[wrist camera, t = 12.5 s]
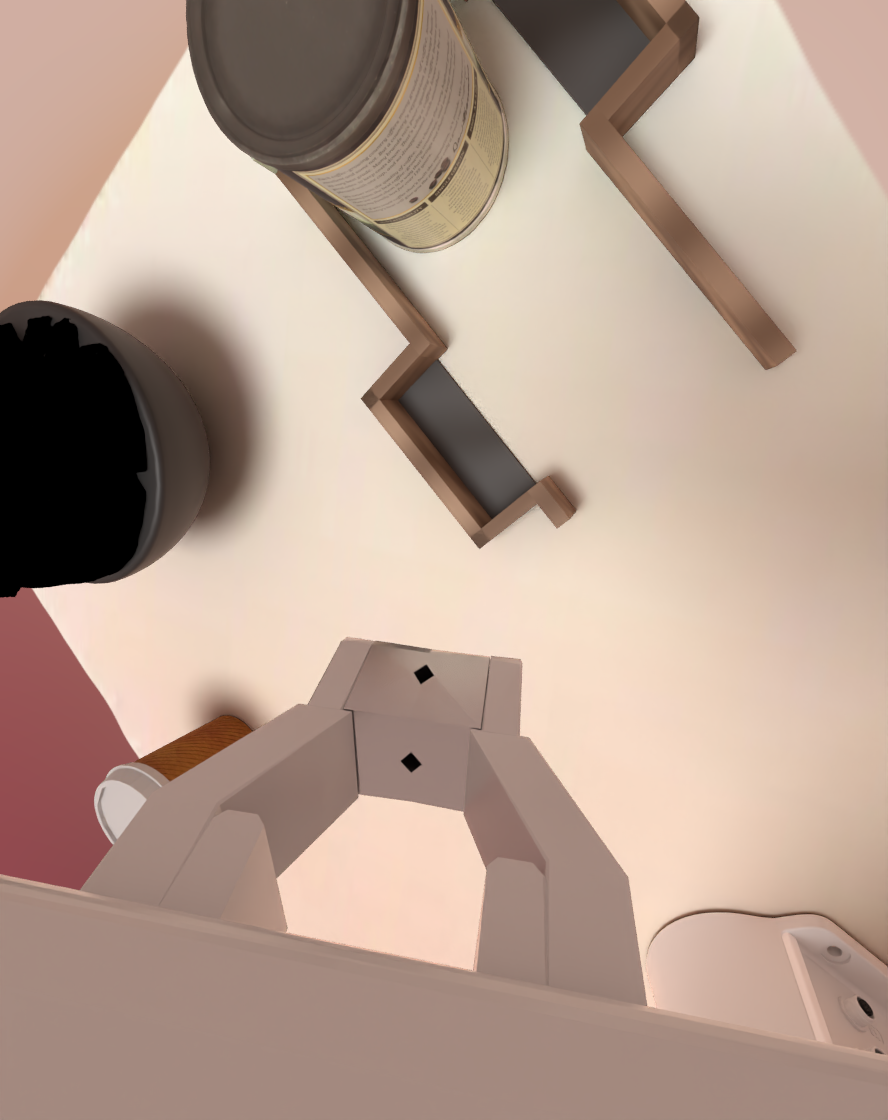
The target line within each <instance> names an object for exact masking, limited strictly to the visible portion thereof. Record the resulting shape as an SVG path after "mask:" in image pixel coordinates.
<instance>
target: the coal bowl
mask: <svg viewBox="0 0 888 1120" xmlns="http://www.w3.org/2000/svg"><path fill="white" fill-rule="evenodd" d="M209 472H210V455H209V446H208V440H207V435H206V431H205V428H204V425H203V421H202V419H201V416H200V414H199V412H198V410H197V407H196V405H195V403H194V402H193V400H192V398H191V396H190V395H189V393H188V391H187V390H186V388H185V387H184V385H183V384H182V382H181V381H180V380H179V379H178V377H177V376H176V375H175V374H174V372H173V371H172V370H171V369H170V368H169V367H168V366H167V365H166V364H165V363H164V361H162V360H161V359H160V358H159V357H158V356H157V355H156V354H155V353H154V352H153V351H151V350H150V349H149V348H148V347H147V346H145V345H144V344H143V343H141V342H140V341H138V340H137V339H136V338H134V337H133V336H131V335H130V334H129V333H127V332H125V331H123V330H122V329H120V328H118V327H116V326H115V325H113V324H111V323H109V322H107V321H105V320H103V319H101V318H99V317H97V316H94V315H92V314H89V313H87V312H84V311H82V310H79V309H76V308H73V307H69V306H66V305H62V304H58V303H54V302H50V301H26V302H22V303H18V304H15V305H12V306H10V307H8V308H7V309H5V310H3V311H2V312H1V313H0V597H15V596H16V595H17V592H18V591H19V590H20V588H21V587H25V588H43V587H53V586H59V585H66V584H79V583H94V584H96V583H110V582H115V581H118V580H120V579H123V578H126V577H128V576H130V575H133V574H135V573H137V572H138V571H140V570H142V569H144V568H146V567H148V566H149V565H151V564H152V563H154V562H155V561H157V560H158V559H159V558H161V557H162V556H163V555H165V554H166V553H167V552H168V551H169V550H170V549H172V548H173V547H174V546H175V545H176V544H177V543H178V541H179V540H180V539H181V538H182V537H183V536H184V535H185V533H186V532H187V531H188V529H189V528H190V526H191V525H192V523H193V522H194V520H195V518H196V517H197V515H198V512H199V510H200V508H201V506H202V503H203V501H204V498H205V495H206V490H207V486H208V480H209Z"/></svg>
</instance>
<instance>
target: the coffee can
mask: <svg viewBox="0 0 888 1120" xmlns="http://www.w3.org/2000/svg"><path fill="white" fill-rule="evenodd" d="M186 21H187V37H188V45H189V51H190V57H191V62H192V67H193V71H194V74H195V78H196V81H197V84H198V87H199V90H200V92H201V95H202V97H203V99H204V102H205V104H206V106H207V108H208V110H209V113H210V114H211V116H212V118H213V119H214V121H215V122H216V124H217V125H218V127H219V128H220V129H221V131H222V132H223V133H224V134H225V135H226V136H227V138H228V139H229V140H230V141H231V142H232V143H234V144H235V145H236V146H237V147H238V148H239V149H240V150H242V151H243V152H245V153H246V154H248V155H249V156H251V157H252V158H254V159H256V160H257V161H259V162H261V163H263V164H265V165H268V166H271V167H274V168H276V169H277V170H279V171H280V172H282V173H283V174H285V175H287V176H288V177H290V178H291V179H293V180H295V181H296V182H298V183H299V184H301V185H302V186H304V187H306V188H307V189H309V190H310V191H312V192H314V193H315V194H317V195H318V196H320V197H322V198H323V199H325V200H327V201H328V202H330V203H332V204H333V205H335V206H336V207H338V208H339V209H341V210H343V211H344V212H346V213H347V214H349V215H350V216H352V217H354V218H355V219H357V220H358V221H360V222H361V223H363V224H364V225H366V226H368V227H369V228H370V229H372V230H374V231H375V232H377V233H379V234H380V235H382V236H383V237H384V238H386V239H387V240H388V241H389V242H391V243H392V244H394V245H395V246H397V247H400V248H402V249H405V250H408V251H412V252H417V253H428V252H435V251H439V250H442V249H445V248H447V247H450V246H452V245H454V244H455V243H457V242H459V241H460V240H462V239H463V238H464V237H466V236H467V235H468V234H470V233H471V232H472V231H473V230H474V229H475V228H476V227H477V225H478V224H479V223H480V221H481V220H482V219H483V218H484V217H485V215H486V214H487V213H488V211H489V209H490V208H491V206H492V204H493V202H494V200H495V198H496V196H497V194H498V191H499V189H500V186H501V183H502V180H503V176H504V171H505V168H506V164H507V152H508V129H507V122H506V117H505V113H504V110H503V106H502V103H501V101H500V98H499V96H498V94H497V92H496V90H495V89H494V87H493V86H492V85H491V83H490V82H489V80H488V78H487V76H486V74H485V72H484V70H483V68H482V66H481V64H480V62H479V60H478V58H477V56H476V54H475V52H474V50H473V48H472V46H471V44H470V42H469V40H468V38H467V36H466V34H465V32H464V30H463V28H462V26H461V24H460V22H459V20H458V18H457V16H456V14H455V12H454V10H453V8H452V6H451V4H450V2H449V0H186Z"/></svg>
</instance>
